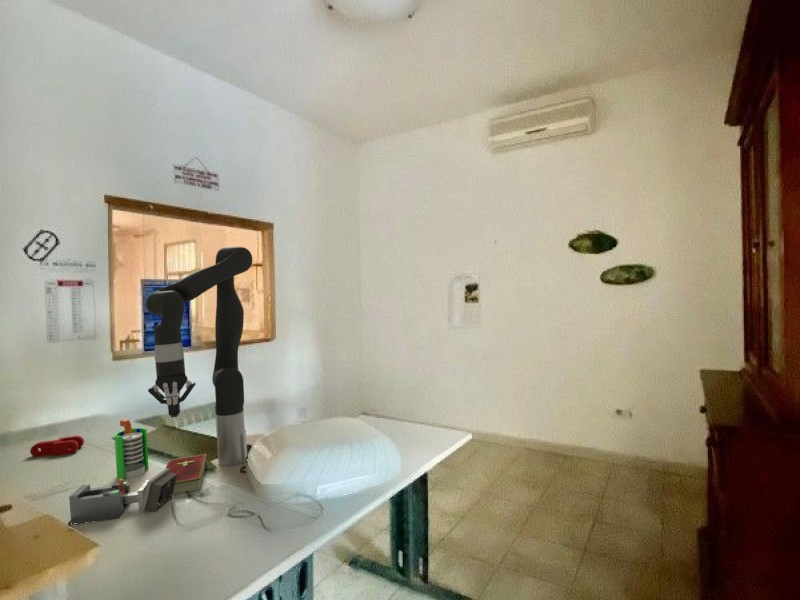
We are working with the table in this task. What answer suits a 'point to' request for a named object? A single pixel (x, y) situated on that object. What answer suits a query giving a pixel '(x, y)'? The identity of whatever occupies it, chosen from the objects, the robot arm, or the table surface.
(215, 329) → the robot arm
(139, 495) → the plunger
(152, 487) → the electrical switch
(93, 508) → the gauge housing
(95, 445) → the table surface
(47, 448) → the mechanical linkage
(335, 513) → the table surface
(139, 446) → the green-shelled ribbed roller
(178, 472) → the hardcover book
